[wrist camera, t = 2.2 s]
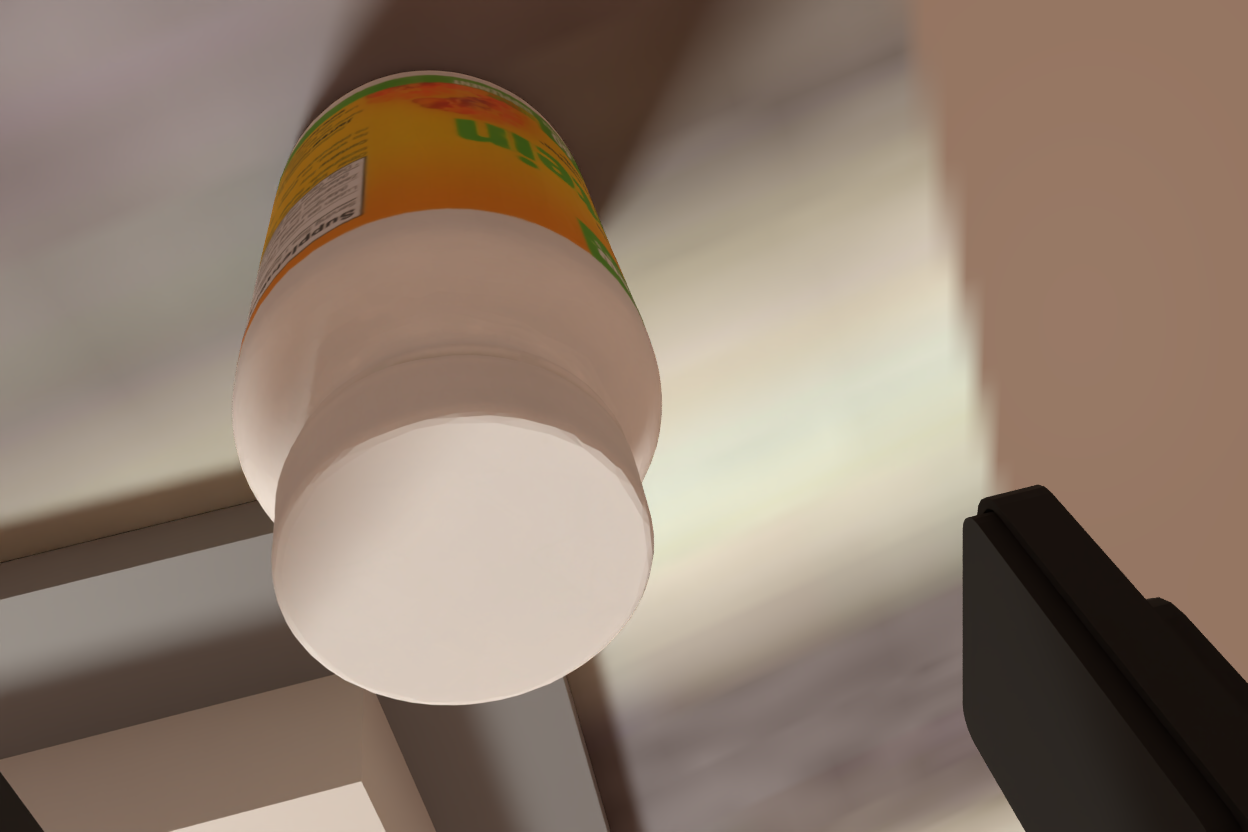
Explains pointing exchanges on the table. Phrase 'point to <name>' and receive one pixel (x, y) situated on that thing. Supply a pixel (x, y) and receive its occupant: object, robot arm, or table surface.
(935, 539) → the table surface
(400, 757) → the collar board
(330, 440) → the supplement bottle
